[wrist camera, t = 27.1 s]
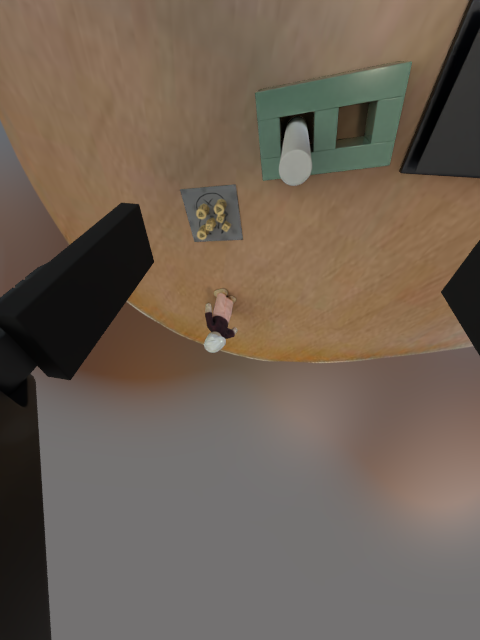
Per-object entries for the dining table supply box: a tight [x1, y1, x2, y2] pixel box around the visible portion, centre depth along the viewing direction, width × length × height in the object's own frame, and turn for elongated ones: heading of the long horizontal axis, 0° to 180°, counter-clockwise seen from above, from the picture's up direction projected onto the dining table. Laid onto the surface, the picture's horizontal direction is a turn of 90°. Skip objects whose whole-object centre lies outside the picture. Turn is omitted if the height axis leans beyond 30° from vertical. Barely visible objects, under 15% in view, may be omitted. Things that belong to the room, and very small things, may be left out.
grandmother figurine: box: [204, 289, 238, 353], centre depth 45 cm, size 8×4×13 cm, turn 53°
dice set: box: [195, 198, 232, 241], centre depth 37 cm, size 5×5×2 cm
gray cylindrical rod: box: [279, 116, 312, 186], centre depth 24 cm, size 2×2×15 cm
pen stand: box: [255, 61, 412, 181], centre depth 27 cm, size 8×13×4 cm, turn 99°
